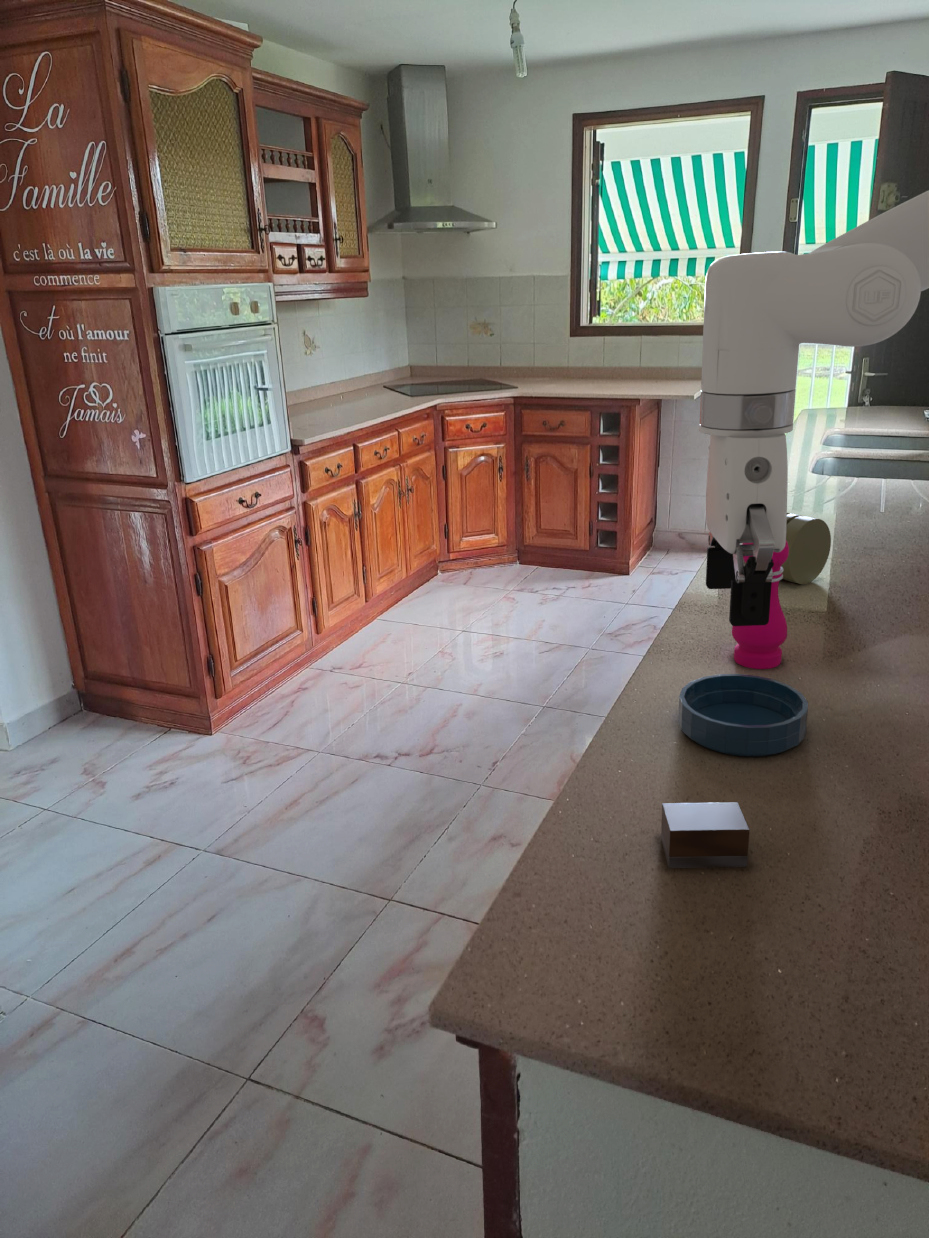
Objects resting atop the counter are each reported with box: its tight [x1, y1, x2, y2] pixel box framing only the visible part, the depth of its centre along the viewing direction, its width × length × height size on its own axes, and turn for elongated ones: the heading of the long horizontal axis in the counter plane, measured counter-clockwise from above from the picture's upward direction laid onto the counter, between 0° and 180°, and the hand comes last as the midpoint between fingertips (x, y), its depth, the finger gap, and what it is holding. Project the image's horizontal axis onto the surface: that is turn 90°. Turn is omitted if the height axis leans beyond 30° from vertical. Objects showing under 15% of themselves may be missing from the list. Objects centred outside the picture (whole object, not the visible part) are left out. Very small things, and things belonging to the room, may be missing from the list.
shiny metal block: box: [660, 801, 751, 869], centre depth 81 cm, size 7×4×4 cm, turn 87°
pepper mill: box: [731, 541, 789, 670], centre depth 118 cm, size 7×7×20 cm
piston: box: [744, 512, 832, 585], centre depth 154 cm, size 11×12×11 cm
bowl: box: [677, 673, 809, 757], centre depth 103 cm, size 14×14×4 cm
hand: (735, 605), depth 79 cm, fingers open, 9 cm apart
